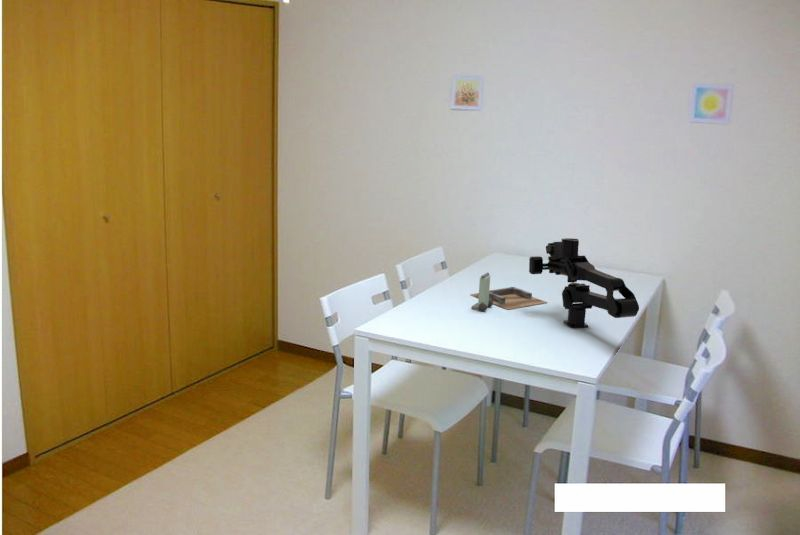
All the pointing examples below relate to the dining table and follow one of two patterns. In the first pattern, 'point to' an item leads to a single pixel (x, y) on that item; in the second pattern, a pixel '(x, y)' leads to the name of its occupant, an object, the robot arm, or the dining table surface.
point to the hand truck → (483, 294)
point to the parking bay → (512, 298)
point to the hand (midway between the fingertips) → (541, 261)
